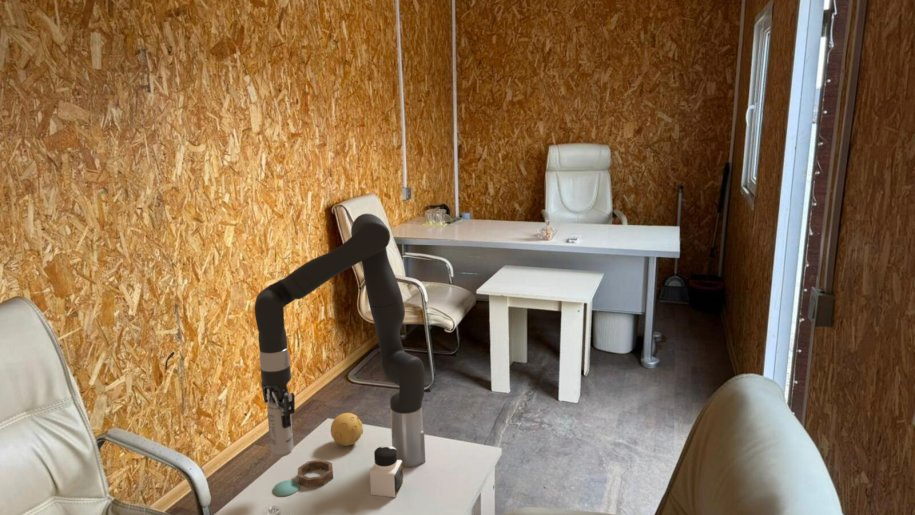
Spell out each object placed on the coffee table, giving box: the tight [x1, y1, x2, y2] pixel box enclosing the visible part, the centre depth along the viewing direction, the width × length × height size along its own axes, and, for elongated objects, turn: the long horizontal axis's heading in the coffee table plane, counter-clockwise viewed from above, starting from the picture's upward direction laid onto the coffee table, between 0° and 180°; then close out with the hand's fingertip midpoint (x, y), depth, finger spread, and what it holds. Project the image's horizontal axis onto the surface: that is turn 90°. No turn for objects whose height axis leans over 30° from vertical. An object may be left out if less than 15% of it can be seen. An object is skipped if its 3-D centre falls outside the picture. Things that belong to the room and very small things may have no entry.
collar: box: [297, 459, 334, 489], centre depth 174 cm, size 10×10×2 cm
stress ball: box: [330, 412, 364, 447], centre depth 190 cm, size 10×10×10 cm
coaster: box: [272, 479, 300, 497], centre depth 169 cm, size 7×7×1 cm
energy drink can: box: [266, 399, 294, 458], centre depth 165 cm, size 6×6×15 cm
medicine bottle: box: [369, 445, 404, 498], centre depth 167 cm, size 7×7×12 cm
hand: (280, 422), depth 164 cm, fingers closed on energy drink can, 6 cm apart
